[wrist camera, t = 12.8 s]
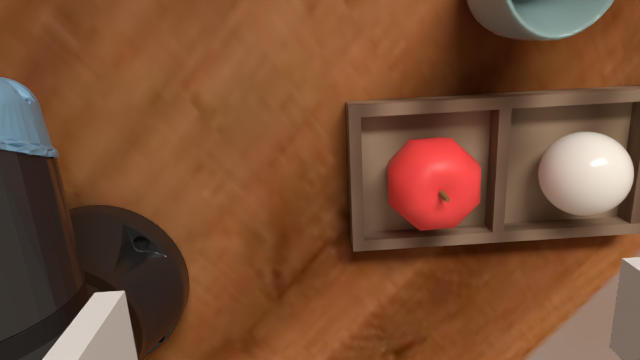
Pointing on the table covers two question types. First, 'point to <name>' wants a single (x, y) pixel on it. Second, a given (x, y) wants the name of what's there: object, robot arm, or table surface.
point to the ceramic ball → (585, 173)
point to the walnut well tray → (488, 162)
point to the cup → (537, 17)
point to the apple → (433, 183)
